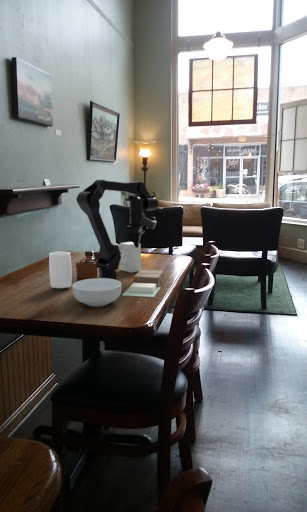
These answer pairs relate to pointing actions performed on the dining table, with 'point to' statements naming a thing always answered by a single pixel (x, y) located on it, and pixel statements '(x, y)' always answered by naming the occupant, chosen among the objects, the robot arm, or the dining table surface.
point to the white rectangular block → (143, 287)
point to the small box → (130, 257)
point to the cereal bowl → (97, 291)
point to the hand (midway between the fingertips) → (137, 247)
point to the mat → (140, 293)
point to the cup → (60, 269)
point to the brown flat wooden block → (149, 277)
